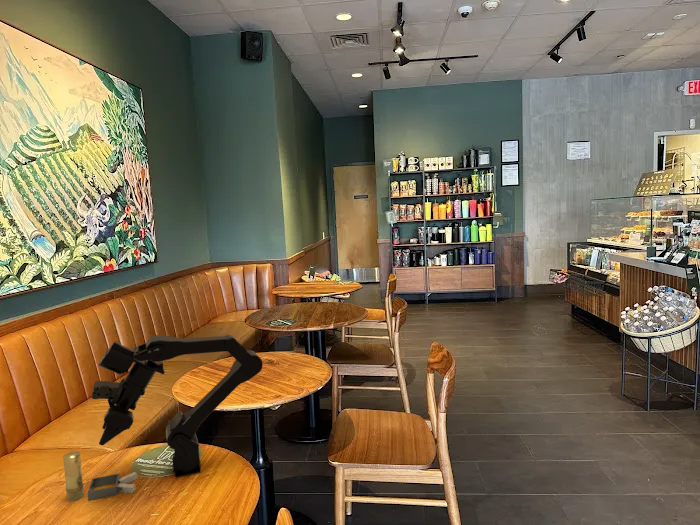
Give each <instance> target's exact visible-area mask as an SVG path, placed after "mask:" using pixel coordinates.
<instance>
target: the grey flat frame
mask: <svg viewBox="0 0 700 525" xmlns="http://www.w3.org/2000/svg"><path fill="white" fill-rule="evenodd" d="M136 480H138V473H137V472H135V471H134V472H132V473H129V474H126V475H124V476H122V477H121V473H120V472H119V473H114V474H109V475H104V476H98V477H94V478H91V480H90V484H89V487H88V489H87V501H88V502H89V501H95V500H99V499H104V498H108V497H113V496H117V495H118V494H119V493H124V494H126V493H128V494H133V493H134V492H135V491H136V484H131V483H132V482H133V481H136ZM111 484H114V486H113V485H112V486H109V487H108V486H107V485H111ZM103 486H107V487H104V488H103ZM98 487H102V488H98ZM95 488H98V489H95Z"/></svg>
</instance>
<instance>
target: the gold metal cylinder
mask: <svg viewBox="0 0 700 525" xmlns="http://www.w3.org/2000/svg"><path fill="white" fill-rule="evenodd" d="M62 461H63V471H64V478H65V479H64V480H65V491H66V500H67V501H68V502H75V501H78V500H80V499H82V498H84V495H85V491H84V482H83V481H84V478H83V469H82V458H81V452H80V451H79V450H74V451H70V452H67V453H65V454H64V455H63V456H62Z"/></svg>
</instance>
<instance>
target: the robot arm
mask: <svg viewBox="0 0 700 525" xmlns="http://www.w3.org/2000/svg"><path fill="white" fill-rule="evenodd" d="M221 352H222V353H224V352H228V353H229V354H230V355H231V356H232V357H233V358H234V359H235V361H233V364H232V365H231V367H230V369H229V371H228V372H227V374H226V375H225V376H224V377H223V378H221V380H219V382H217V384H215V385H214V387H212V388H211V390H209V391H208V392H207V393H206V394H205V395H204V396H203V397H202V398H201V399H200V400H199V401H198V402H197V403H196V404H195V405H194V406H193V407H192V408H191V409H189V410H188V411H186V412H184V413H183V412H182V411H181V410H179V411H177V413H176V414H175V415H174V416H173V418H171V419H169V420H168V424H167V425H166V429H165V436H166V437H165V438H166V443H167V445H168V447H169V448H170V449H172V450H173V453H172V460H171V461H172V471H173V473H174V477H175V478H179V477H180V478H181V477H185V476H190V475H194V474H199V473H201V470H202V469H201V460H200V448H199V447H200V445H199V440H198V437H197V434H196V433H197V431H198V429H199V427H200V426H201V424H202V423H203V422H204V421H205V420H206V419H207V418H208V416H210V414H212V413H213V412H214V411H215V410H216V409H217V407H219V406H220V405H221V404H222V402H223V401H225V399H226V398H228V396H230V395H231V394H232V392H233V391H235V390H236V388H238V386H240V385H241V384H244V383H246V382H248V381H250V380H251V379H253V378H254V377H256V376H257V375H258V374H259V373H261V371H262V370H263V361H262V360H263V359H262V358H261V357H260V356H259V355H258V354H257V352H255V351H254V350H251V349H246V348H245V346H243V345H242V344H241V343H240V342H239V341H237V339H236V338H235V336H234V335H231V334H226V335H220V336H205V337H204V336H201V337H188V338H187V337H186V338H180V337H175V336H171V335H162V334H156V335H152V336H150V337H149V338H148V339H147V340H146V342H144V343H142V344H139V345H138V346H135V347H133V348H129V347H127V346H125V345H123V344H121V342H118V341H116V340H115V341H113V342H112V344H111V345H110V346H109V348H108V349H106V350H105V352H104V354H103V355H102V357H101V358H100V361H99V362H98V363H97V364H98V365H97V366H98V367H100V368H102V369H105V370H107V371H109V372H112V373H115V374H116V375H121V374H125V373H127V374H126V376H125V377H123V378H122V379H121V380H120V381H118V382H117V381H110V380H109V381H108V380H95V381H94V384H93V386H92V387H93V388H92V393H91V397H90V398H91V399H92V400H99V399H101V400H107V403H108V406H109V408H108V409H107V411H106V413H105V414H104V416H103V425H102V429H103V432H102V434H101V437H100V438H99V441H98V442H99V443H98V445H100V446H105V445H106V444H107V443H109V442H111V440H113V439H114V438H115V437H117V436H118V435H120V434H121V433H123V432H125V431H127V430H129V429H131V427H132V425H133V424H134V421H135V420H134V419H135V417H134V414H133V412H132V411H135V409H136V407H137V403H138V401H139V400H140V398H141V397H143V396H144V395H145V393H146V389H147V387H148V386H149V384H150V383H151V381H152V379H153V378H154V376H155V374H156V373H159V374H160V375H164V374H165V373H166V372H165V368H164V362H163V361H168V360H169V361H170V360H172V359H174V358H177V357H180V356H184V355H194V354H195V355H197V354H198V355H199V354H209V353H221ZM130 368H131V369H130ZM128 371H129V372H128ZM131 410H132V411H131Z"/></svg>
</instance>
